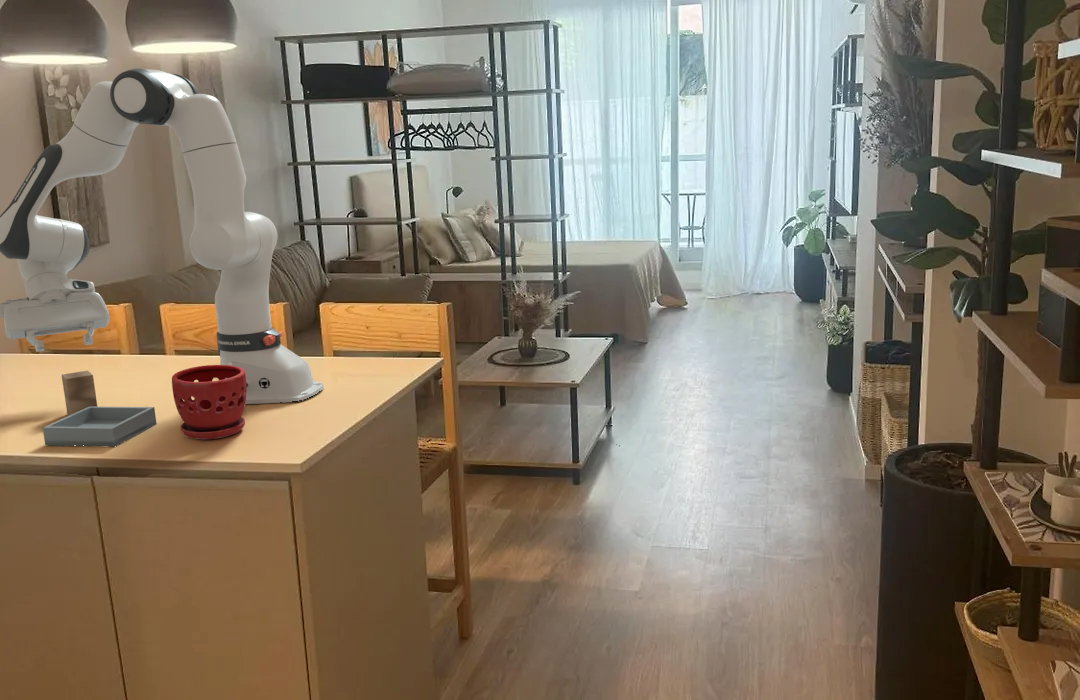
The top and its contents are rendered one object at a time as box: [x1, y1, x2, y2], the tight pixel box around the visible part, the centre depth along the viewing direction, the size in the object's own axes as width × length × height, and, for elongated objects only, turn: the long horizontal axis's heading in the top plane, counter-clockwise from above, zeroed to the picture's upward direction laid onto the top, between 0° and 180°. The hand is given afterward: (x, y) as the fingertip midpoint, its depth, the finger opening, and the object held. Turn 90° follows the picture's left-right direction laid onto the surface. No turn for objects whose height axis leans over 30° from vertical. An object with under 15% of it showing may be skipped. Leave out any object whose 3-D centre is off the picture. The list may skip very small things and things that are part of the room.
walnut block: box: [61, 370, 98, 416], centre depth 193 cm, size 5×5×8 cm
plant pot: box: [171, 364, 247, 440], centre depth 177 cm, size 13×13×12 cm
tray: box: [42, 406, 157, 448], centre depth 179 cm, size 14×14×4 cm
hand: (65, 346), depth 199 cm, fingers open, 8 cm apart
